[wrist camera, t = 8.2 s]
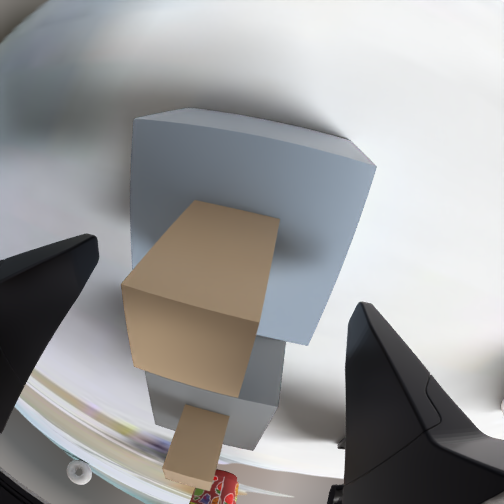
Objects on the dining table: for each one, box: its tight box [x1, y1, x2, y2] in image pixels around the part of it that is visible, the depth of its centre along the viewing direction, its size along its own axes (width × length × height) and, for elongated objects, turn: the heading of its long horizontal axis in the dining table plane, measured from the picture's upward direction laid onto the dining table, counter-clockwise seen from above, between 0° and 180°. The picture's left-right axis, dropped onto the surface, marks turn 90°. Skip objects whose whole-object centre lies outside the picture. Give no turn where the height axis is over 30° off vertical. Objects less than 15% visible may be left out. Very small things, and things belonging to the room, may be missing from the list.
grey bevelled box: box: [145, 335, 286, 491], centre depth 18 cm, size 8×8×10 cm
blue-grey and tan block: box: [121, 108, 377, 398], centre depth 11 cm, size 8×8×10 cm
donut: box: [67, 460, 92, 485], centre depth 65 cm, size 10×4×10 cm, turn 90°
